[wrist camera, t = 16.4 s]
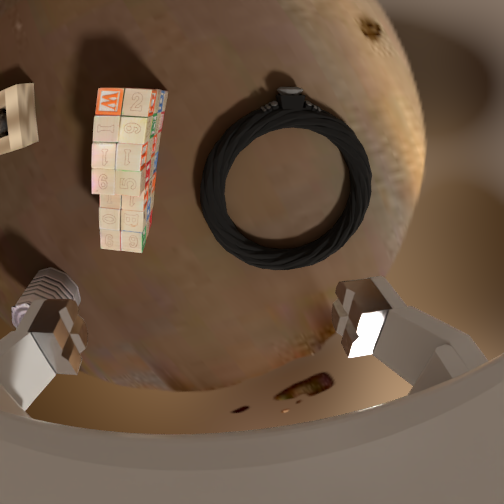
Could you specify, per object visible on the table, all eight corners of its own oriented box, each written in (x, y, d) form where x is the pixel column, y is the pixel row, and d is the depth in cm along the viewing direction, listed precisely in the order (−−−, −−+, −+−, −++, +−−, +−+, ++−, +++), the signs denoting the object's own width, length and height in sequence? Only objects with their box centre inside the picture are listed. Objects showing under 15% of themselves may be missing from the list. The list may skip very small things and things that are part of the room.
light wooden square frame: (-8, 100, 30) (-26, 103, 25) (33, 82, 31) (16, 84, 26) (-3, 153, 35) (-19, 161, 30) (38, 141, 36) (22, 147, 31)
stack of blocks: (152, 225, 46) (137, 266, 36) (116, 221, 45) (92, 260, 35) (168, 90, 36) (152, 88, 26) (127, 87, 35) (97, 86, 24)
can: (78, 319, 54) (62, 361, 44) (34, 300, 50) (12, 339, 40) (84, 278, 49) (63, 321, 39) (34, 258, 46) (6, 296, 35)
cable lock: (211, 283, 49) (188, 93, 34) (210, 270, 53) (190, 93, 37) (365, 264, 52) (382, 93, 36) (357, 253, 55) (369, 91, 40)
